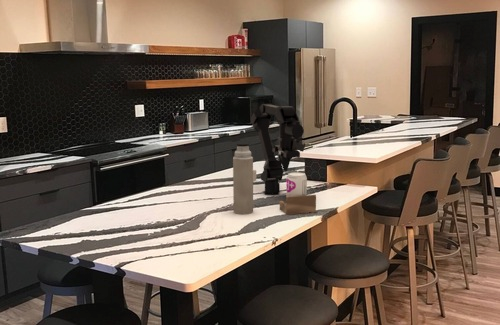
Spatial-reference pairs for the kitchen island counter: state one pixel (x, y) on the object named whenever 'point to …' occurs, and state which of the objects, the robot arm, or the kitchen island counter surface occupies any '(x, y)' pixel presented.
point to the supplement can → (296, 184)
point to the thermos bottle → (243, 180)
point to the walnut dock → (299, 204)
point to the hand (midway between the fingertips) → (285, 170)
